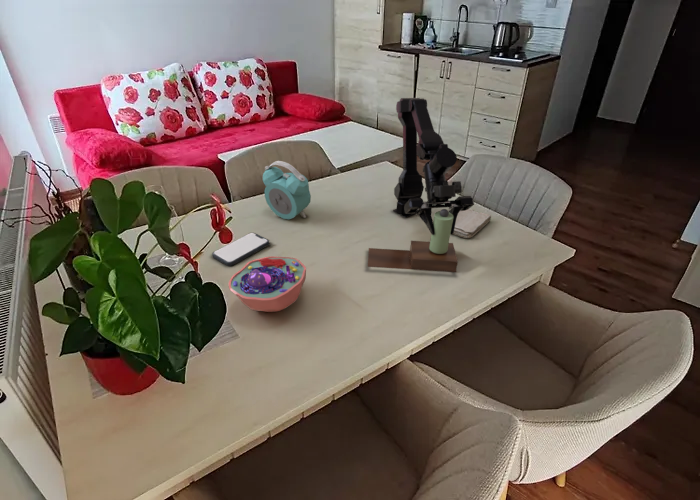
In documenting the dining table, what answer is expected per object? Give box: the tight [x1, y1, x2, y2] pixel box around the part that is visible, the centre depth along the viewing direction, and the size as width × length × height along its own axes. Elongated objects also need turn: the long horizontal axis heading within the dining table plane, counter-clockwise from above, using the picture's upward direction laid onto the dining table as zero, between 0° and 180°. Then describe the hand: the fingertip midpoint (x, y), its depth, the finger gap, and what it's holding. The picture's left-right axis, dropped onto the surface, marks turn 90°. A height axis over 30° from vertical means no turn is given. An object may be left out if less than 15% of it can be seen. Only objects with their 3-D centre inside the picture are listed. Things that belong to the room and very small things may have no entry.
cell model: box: [228, 256, 307, 313], centre depth 109 cm, size 17×20×11 cm
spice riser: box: [367, 240, 459, 273], centre depth 127 cm, size 10×25×5 cm, turn 86°
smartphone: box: [212, 232, 270, 267], centre depth 131 cm, size 9×2×16 cm
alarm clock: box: [262, 160, 312, 220], centre depth 146 cm, size 17×10×20 cm, turn 58°
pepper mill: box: [429, 208, 454, 254], centre depth 121 cm, size 5×5×13 cm
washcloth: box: [452, 208, 492, 239], centre depth 148 cm, size 12×18×3 cm, turn 142°
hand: (442, 234), depth 120 cm, fingers closed on pepper mill, 5 cm apart
